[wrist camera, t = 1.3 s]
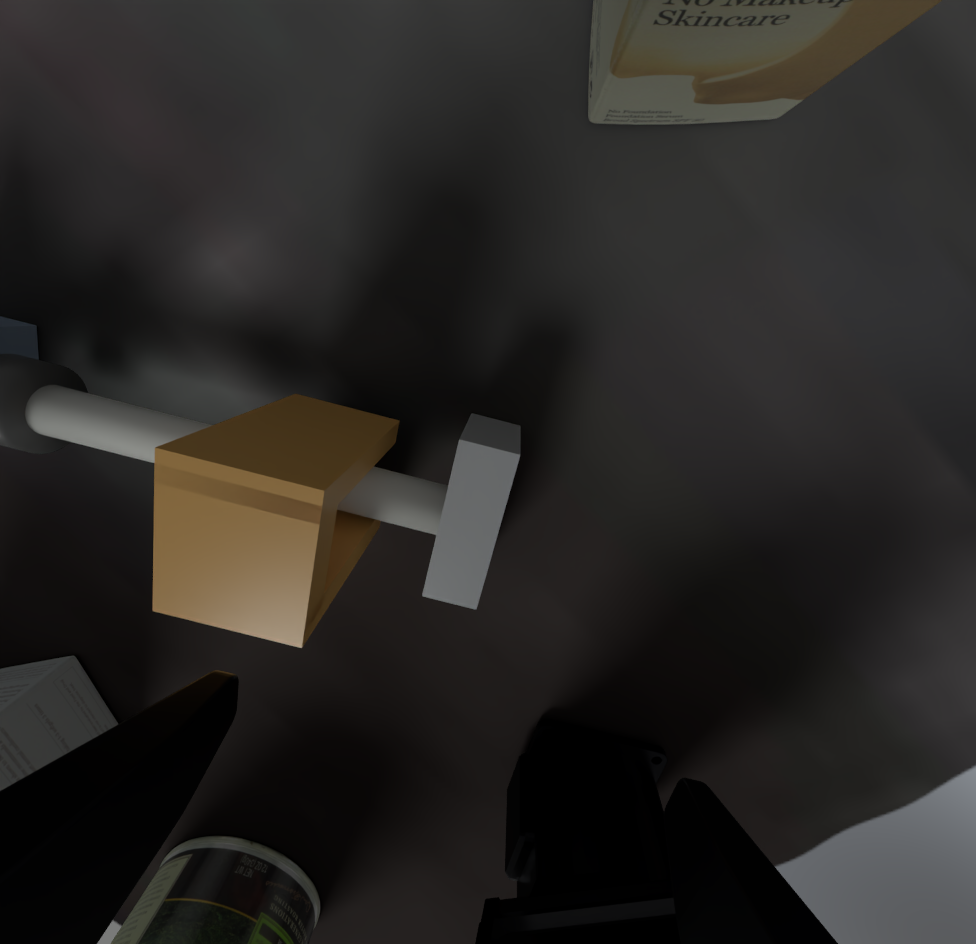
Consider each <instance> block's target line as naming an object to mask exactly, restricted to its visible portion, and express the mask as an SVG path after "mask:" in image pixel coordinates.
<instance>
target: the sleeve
mask: <svg viewBox="0 0 976 944" xmlns="http://www.w3.org/2000/svg"><path fill="white" fill-rule="evenodd" d="M399 422H400V421H399V420H395V419H392V418H388V417H384V416H380V415H376V414H372V413H368V412H364V411H361V410H357V409H353V408H349V407H345V406H341V405H337V404H334V403H330V402H326V401H322V400H318V399H314V398H310V397H307V396H303V395H299V394H294V395H291V396H288V397H286V398H283V399H280V400H278V401H275V402H273V403H270V404H267V405H265V406H262V407H260V408H257V409H254V410H252V411H249V412H246V413H244V414H241V415H239V416H236V417H233V418H231V419H228V420H226V421H223V422H220V423H218V424H215V425H212V426H210V427H207V428H205V429H202V430H199V431H197V432H194V433H192V434H189V435H186V436H184V437H181V438H178V439H176V440H173V441H171V442H168V443H165V444H163V445H160V446H157V447H155V466H154V542H153V611H154V612H158V613H163V614H167V615H171V616H175V617H179V618H183V619H187V620H191V621H195V622H199V623H203V624H207V625H211V626H215V627H219V628H223V629H227V630H231V631H235V632H239V633H243V634H247V635H251V636H255V637H259V638H263V639H267V640H271V641H275V642H279V643H283V644H287V645H291V646H295V647H299V648H302V647H303V646H304V644H305V642H306V641H307V639H308V638H309V636H310V635H311V633H312V632H313V630H314V628H315V627H316V625H317V624H318V622H319V621H320V619H321V618H322V616H323V614H324V613H325V611H326V610H327V608H328V607H329V605H330V604H331V602H332V600H333V599H334V597H335V596H336V594H337V593H338V591H339V590H340V588H341V586H342V585H343V583H344V582H345V580H346V579H347V577H348V576H349V574H350V572H351V571H352V569H353V568H354V566H355V565H356V563H357V562H358V560H359V558H360V557H361V555H362V554H363V552H364V551H365V549H366V548H367V546H368V544H369V543H370V541H371V540H372V538H373V537H374V535H375V534H376V532H377V530H378V529H379V526H380V520H376V519H372V518H368V517H364V516H360V515H356V514H352V513H348V512H344V511H340V510H337V507H338V504H339V503H340V502H341V501H342V500H343V499H344V498H345V497H346V496H347V495H348V494H349V493H350V491H351V490H352V489H353V488H354V487H355V486H356V485H357V484H358V483H359V482H360V481H361V480H362V479H363V477H364V476H365V475H366V474H367V473H368V472H369V471H370V470H371V469H372V468H373V467H374V466H375V464H376V463H377V462H378V461H379V460H380V459H381V458H382V457H383V456H384V455H385V454H386V453H387V452H388V450H389V449H390V448H391V447H392V446H393V445H394V444H395V443H396V437H397V432H398V427H399Z"/></svg>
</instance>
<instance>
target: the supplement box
mask: <svg viewBox="0 0 976 944" xmlns="http://www.w3.org/2000/svg"><path fill="white" fill-rule="evenodd" d="M116 725H118V722H117V721H116V719H115V718H114V716H113V715H112V713H111V712H110V710H109V709H108V707H107V705H106V704H105V702H104V701H103V699H102V698H101V696H100V694H99V693H98V691H97V690H96V688H95V686H94V685H93V683H92V682H91V680H90V679H89V677H88V675H87V674H86V672H85V671H84V669H83V668H82V666H81V665H80V663H79V661H78V660H77V658H76V657H75V656H67V657H61V658H55V659H50V660H45V661H40V662H33V663H28V664H23V665H17V666H11V667H7V668H2V669H0V791H1V790H3V789H4V788H6V787H8V786H10V785H11V784H13V783H15V782H17V781H19V780H20V779H22V778H24V777H26V776H27V775H29V774H31V773H33V772H35V771H36V770H38V769H40V768H42V767H43V766H45V765H47V764H49V763H51V762H52V761H54V760H56V759H58V758H59V757H61V756H63V755H65V754H66V753H68V752H70V751H72V750H74V749H75V748H77V747H79V746H81V745H82V744H84V743H86V742H88V741H90V740H91V739H93V738H95V737H97V736H98V735H100V734H102V733H104V732H105V731H107V730H109V729H111V728H113V727H114V726H116Z"/></svg>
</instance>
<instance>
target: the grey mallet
mask: <svg viewBox="0 0 976 944" xmlns="http://www.w3.org/2000/svg"><path fill="white" fill-rule="evenodd" d="M210 426H212V425H210V424H206V423H202V422H199V421H195V420H191V419H187V418H183V417H179V416H175V415H171V414H167V413H163V412H160V411H156V410H152V409H148V408H144V407H140V406H136V405H132V404H128V403H125V402H121V401H117V400H113V399H109V398H105V397H101V396H97V395H93V394H89V393H88V391H87V389H86V386H85V384H84V382H83V381H82V379H81V378H80V377H79V376H78V375H77V374H76V373H75V372H74V371H72V370H71V369H69V368H67V367H64V366H60V365H56V364H53V363H49V362H45V361H41V360H39V354H38V339H37V326H36V325H33V324H29V323H25V322H21V321H17V320H13V319H9V318H6V317H2V316H0V445H2V446H5V447H9V448H13V449H17V450H21V451H25V452H29V453H34V454H47V453H51V452H55V451H57V450H59V449H61V448H63V447H65V446H66V445H68V444H69V443H70V442H73V443H77V444H81V445H85V446H89V447H93V448H97V449H101V450H104V451H108V452H112V453H116V454H120V455H124V456H128V457H132V458H136V459H140V460H144V461H148V462H152V463H155V447H157V446H160V445H163V444H165V443H168V442H171V441H173V440H176V439H178V438H181V437H184V436H186V435H189V434H192V433H194V432H197V431H199V430H202V429H205V428H207V427H210ZM520 442H521V426H520V425H516V424H512V423H508V422H504V421H501V420H497V419H493V418H489V417H485V416H481V415H477V414H474V413H471V415H470V417H469V420H468V422H467V424H466V426H465V428H464V430H463V432H462V435H461V437H460V439H459V443H458V447H457V451H456V455H455V460H454V464H453V468H452V472H451V477H450V481H449V485H444V484H440V483H436V482H432V481H428V480H425V479H421V478H417V477H413V476H409V475H405V474H401V473H397V472H393V471H389V470H386V469H382V468H378V467H373V468H372V469H371V470H370V471H369V472H368V473H367V474H366V475H365V476H364V477H363V479H362V480H361V481H360V482H359V483H358V484H357V485H356V486H355V487H354V488H353V489H352V490H351V491H350V493H349V494H348V495H347V496H346V497H345V498H344V499H343V500H342V501H341V502H340V503H339V504H338V507H337V510H340V511H344V512H348V513H352V514H356V515H360V516H364V517H368V518H372V519H376V520H380V521H383V522H387V523H391V524H395V525H399V526H403V527H407V528H411V529H415V530H419V531H423V532H427V533H431V534H435V535H436V540H435V544H434V548H433V552H432V557H431V561H430V565H429V569H428V573H427V578H426V582H425V586H424V590H423V594H422V596H424V597H428V598H432V599H436V600H440V601H444V602H448V603H452V604H456V605H459V606H463V607H467V608H471V609H475V610H476V609H477V605H478V602H479V598H480V595H481V591H482V588H483V584H484V581H485V577H486V574H487V570H488V567H489V563H490V560H491V556H492V553H493V549H494V546H495V542H496V539H497V535H498V532H499V528H500V525H501V521H502V518H503V514H504V511H505V507H506V504H507V500H508V497H509V493H510V490H511V486H512V483H513V479H514V476H515V472H516V469H517V465H518V462H519V458H520Z"/></svg>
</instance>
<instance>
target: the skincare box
mask: <svg viewBox="0 0 976 944" xmlns="http://www.w3.org/2000/svg"><path fill="white" fill-rule="evenodd" d="M941 1H942V0H593V13H592V27H591V43H590V63H589V98H588V117H589V120H590V122H592V123H599V124H637V125H643V124H696V123H718V122H736V121H751V120H768V119H776V118H779V117H780V116H782V115H783V114H785V113H786V112H787V111H789V110H790V109H791V108H793V107H794V106H796V105H797V104H799V103H800V102H801V101H803V100H804V99H805V98H807V97H808V96H809V95H811V94H812V93H814V92H815V91H816V90H818V89H819V88H821V87H822V86H823V85H825V84H826V83H828V82H829V81H830V80H832V79H833V78H834V77H836V76H837V75H839V74H840V73H841V72H843V71H844V70H845V69H847V68H848V67H850V66H851V65H853V64H854V63H855V62H857V61H858V60H859V59H861V58H862V57H864V56H865V55H866V54H868V53H869V52H871V51H872V50H874V49H875V48H876V47H878V46H879V45H881V44H882V43H883V42H885V41H886V40H888V39H889V38H890V37H892V36H893V35H895V34H896V33H898V32H899V31H900V30H902V29H903V28H905V27H906V26H907V25H909V24H910V23H912V22H913V21H914V20H916V19H917V18H918V17H920V16H921V15H923V14H924V13H925V12H927V11H928V10H930V9H931V8H932V7H934V6H935V5H936V4H938V3H939V2H941Z"/></svg>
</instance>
